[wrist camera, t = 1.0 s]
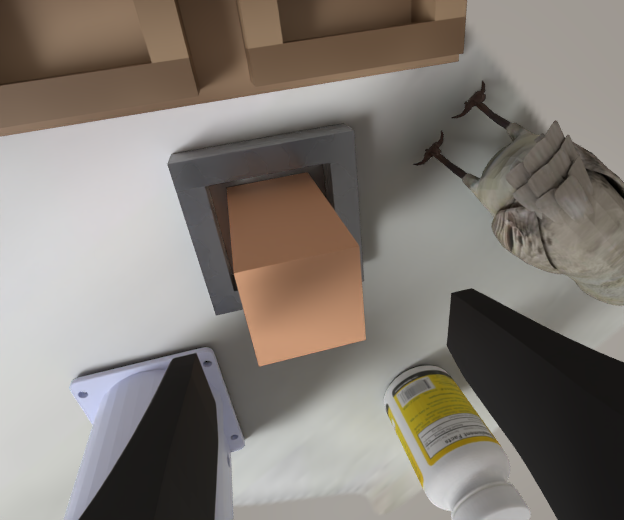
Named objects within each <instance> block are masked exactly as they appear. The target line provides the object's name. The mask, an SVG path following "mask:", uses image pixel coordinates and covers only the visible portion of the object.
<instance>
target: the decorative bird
mask: <svg viewBox="0 0 624 520" xmlns="http://www.w3.org/2000/svg"><path fill="white" fill-rule="evenodd" d="M484 92H485V83H484V82H483V80H482V88H481V90H480V91H477V92H475V93H474V95H473V96H472V97H471V98H470V99H469V100H468V102H465V103H464V104H465V109H464V110H463V112H462V113H461V114H460V115H457V116H455V117H451V118H459V117H462V116H464V115H466V114H467V113H468V112H469V111H470V110H471V108H472V107H474V106H477V107H478V108H479V109H480V110H481V111H482V112H484V113H485V114H486V115H487V116H488V117H489V118H491V119H492V120H493V121H494V122H496V123H497V124H498V125H500V126H502V127H504V128H505V129H506V130H507V132H508V134H509V136H510V137H511V139H512V140H513V142H512V143H511V144H510V145H508V146H507V147H505V148H503V149H502V150H501V151H499V152H498V153H497V154H496V155H495V156H494V157H493V158H492V159H491V160H490V161H489V163H488V164H487V166H486V168H485V169H484V171H483V174H482V177H481V178H478V177H476V176H473V175H471V174H468V173H466V172H465V171H463V170H462V169H460V168H459V167H457V166H456V165H454V164H453V163H451V162H450V161H449V160H448V159H446V158H445V157H444V156H443V155H442V154H440V153H441V150H440V149H439V147H440V146H441V144H442V143H443V139H444V134H443V132H442V130H441V138H440V140H439V141H438V142H435V143H433V144H432V146H431V147H430V148H429V149H426V150H425V151H426V153H425V155H424V159H423V160H422V162H419V163H416V164H413V165H422V164H425V163H426V162H427V161H428V160H429V159H430V158H431V157H433V156H434V157H435V158H436V159H438V160H439V161H440V162H441V163H443V164H444V165H445V166H446V167H448V168H449V169H450V170H451V171H452V172H453V173H455V174H456V175H457V176H459V177H460V178H462V181H463V183H464V184H465V185H466V186H467V187H468V188H469V189H470V190H471V191H472V192H473V193H474V194H475V196H476V197H477V198H478V199H479V200H480V202H481V203H482V204H483V205H484V206H485V208H487V209H488V211H489V212H490V213H491V214H492V216H493V218H494V219H493V222H492V226H491V227H492V230H493V232H494V234H495V236H496V237H497V239H498V240H499V242H500V243H501V244H502V246H503V247H504V248H506V249H507V250H508V251H510V252H511V253H512V254H514V255H515V256H517V257H518V258H520V259H521V260H523V261H524V262H526V263H528V264H530V265H532V266H534V267H537V268H539V269H542V270H544V271H547V272H551V273H556V274H564V275H567V276H568V277H570V278H571V279H573V280H574V281H575V282H576V284H577V285H578V286H579V287H580V289H581V290H582V291H584V292H585V293H586V294H588V295H590V296H592V297H594V298H596V299H598V300H600V301H603V302H606V303H609V304H612V305H618V306H621V305H624V182H623V181H622V180H621V179H620V178H619V177H618V176H617V175H616V174H614V173H613V172H612V171H611V170H609V169H608V168H607V167H606V166H605V165H604V164H603V163H602V162H601V161H600V160H599V159H598V158H597V157H596V156H595V155H593V154H592V153H591V152H589V151H588V150H586V149H584V148H582V147H580V146H579V145H577V144H575V143H574V142H572V140H571V138H570V136H569V135H567V136H566V138H565V137H564V135H563V133H562V131H561V128H560V126H559V124H558V122H557V121H554V122H553V124H552V125H551V127H550V128H549V130H548V131H547V133H546V135H544V134H541V135H535V134H533V133H531V132H529V131H528V130H526V129H525V128H523V127H521V126H520V125H518V124H517V123H510V122H509V121H507V120H506V119H504V118H502V117H500V116H499V115H497V114H495V113H494V112H493V111H492V110H490V109H489V108H488V107H487V106H486V105H485V104H484V103H482V102H483V101H485V98H486V95H485V94H484Z"/></svg>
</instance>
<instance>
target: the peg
mask: <svg viewBox="0 0 624 520" xmlns="http://www.w3.org/2000/svg"><path fill="white" fill-rule="evenodd" d="M226 189H227V201H228V212H229V224H230V236H231V248H232V259H233V271H234V276H235V280H236V284H237V287H238V291H239V295H240V298H241V302H242V306H243V309H244V313H245V317H246V321H247V324H248V328H249V332H250V335H251V339H252V343H253V346H254V350H255V354H256V357H257V361H258V365H259V367H260V366H264V365H267V364H271V363H275V362H279V361H283V360H287V359H291V358H295V357H299V356H303V355H307V354H311V353H315V352H319V351H323V350H327V349H331V348H335V347H339V346H343V345H347V344H351V343H355V342H359V341H363V340H366V335H365V321H364V306H363V292H362V277H361V263H360V249H359V245H358V243H357V242H356V240H355V239H354V238H353V236H352V235H351V233H350V232H349V230H348V229H347V228H346V226H345V225H344V223H343V222H342V220H341V219H340V218H339V216H338V215H337V213H336V212H335V210H334V209H333V208H332V206H331V205H330V203H329V202H328V201H327V199H326V198H325V196H324V195H323V193H322V192H321V191H320V189H319V188H318V186H317V185H316V183H315V182H314V181H313V179H312V178H311V176H310V175H309V173H308V172H306V173H300V174H295V175H290V176H285V177H280V178H274V179H269V180H264V181H259V182H254V183H248V184H243V185H238V186H233V187H228V188H226Z"/></svg>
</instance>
